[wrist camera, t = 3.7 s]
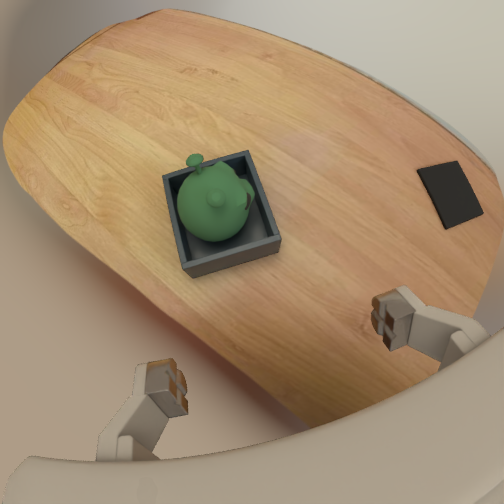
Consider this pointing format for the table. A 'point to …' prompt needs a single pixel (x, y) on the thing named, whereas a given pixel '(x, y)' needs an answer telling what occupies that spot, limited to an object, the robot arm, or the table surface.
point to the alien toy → (213, 200)
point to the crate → (238, 246)
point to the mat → (450, 193)
